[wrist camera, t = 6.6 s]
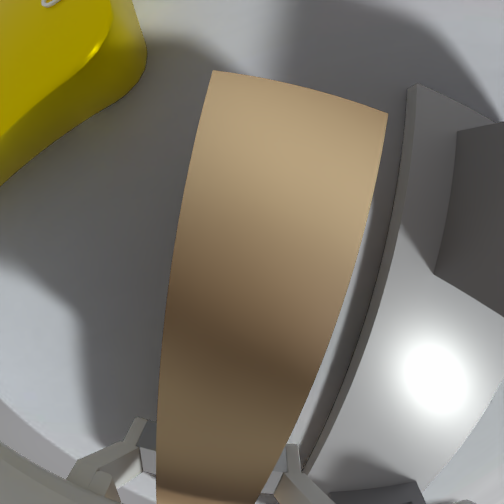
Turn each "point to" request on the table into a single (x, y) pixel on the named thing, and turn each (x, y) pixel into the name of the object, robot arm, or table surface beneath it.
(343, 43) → the table surface
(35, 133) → the element tile
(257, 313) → the oak slat
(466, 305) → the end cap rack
